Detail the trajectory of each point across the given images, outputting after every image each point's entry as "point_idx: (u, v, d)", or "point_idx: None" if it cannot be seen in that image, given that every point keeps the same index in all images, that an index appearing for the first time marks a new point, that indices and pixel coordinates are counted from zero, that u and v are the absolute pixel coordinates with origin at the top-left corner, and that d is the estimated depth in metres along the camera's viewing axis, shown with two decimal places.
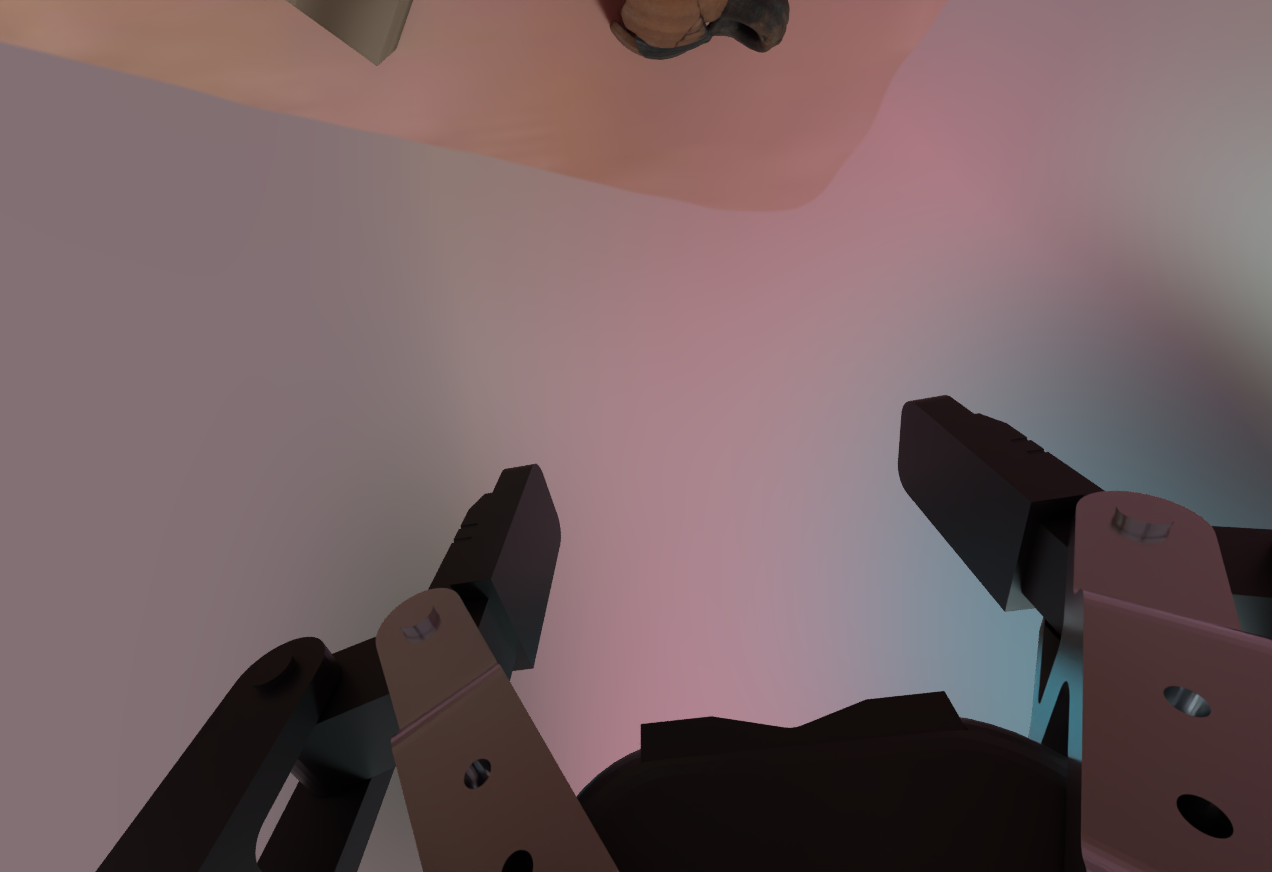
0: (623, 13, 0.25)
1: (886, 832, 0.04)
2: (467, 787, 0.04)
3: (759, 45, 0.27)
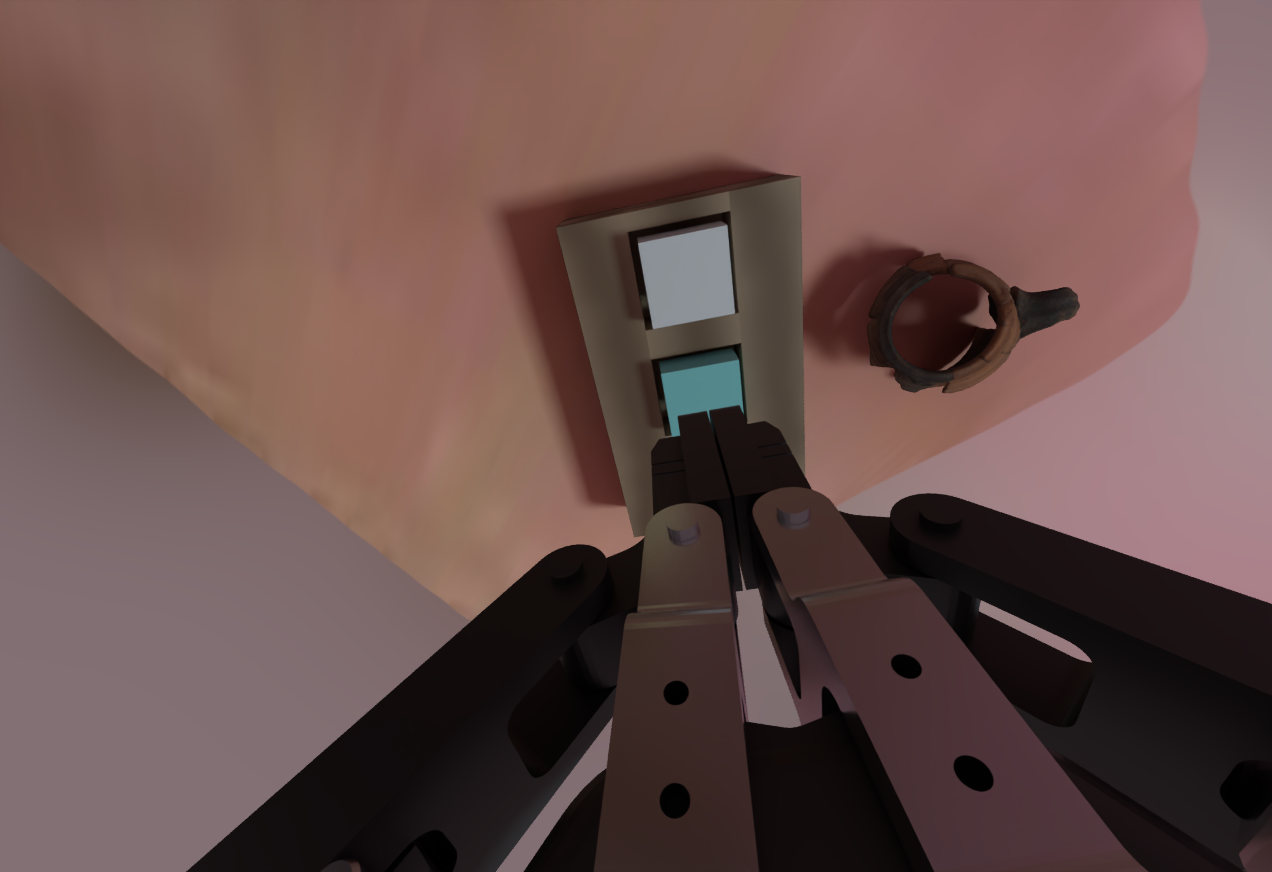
0: (946, 392, 0.32)
1: (886, 832, 0.04)
2: (664, 696, 0.05)
3: None
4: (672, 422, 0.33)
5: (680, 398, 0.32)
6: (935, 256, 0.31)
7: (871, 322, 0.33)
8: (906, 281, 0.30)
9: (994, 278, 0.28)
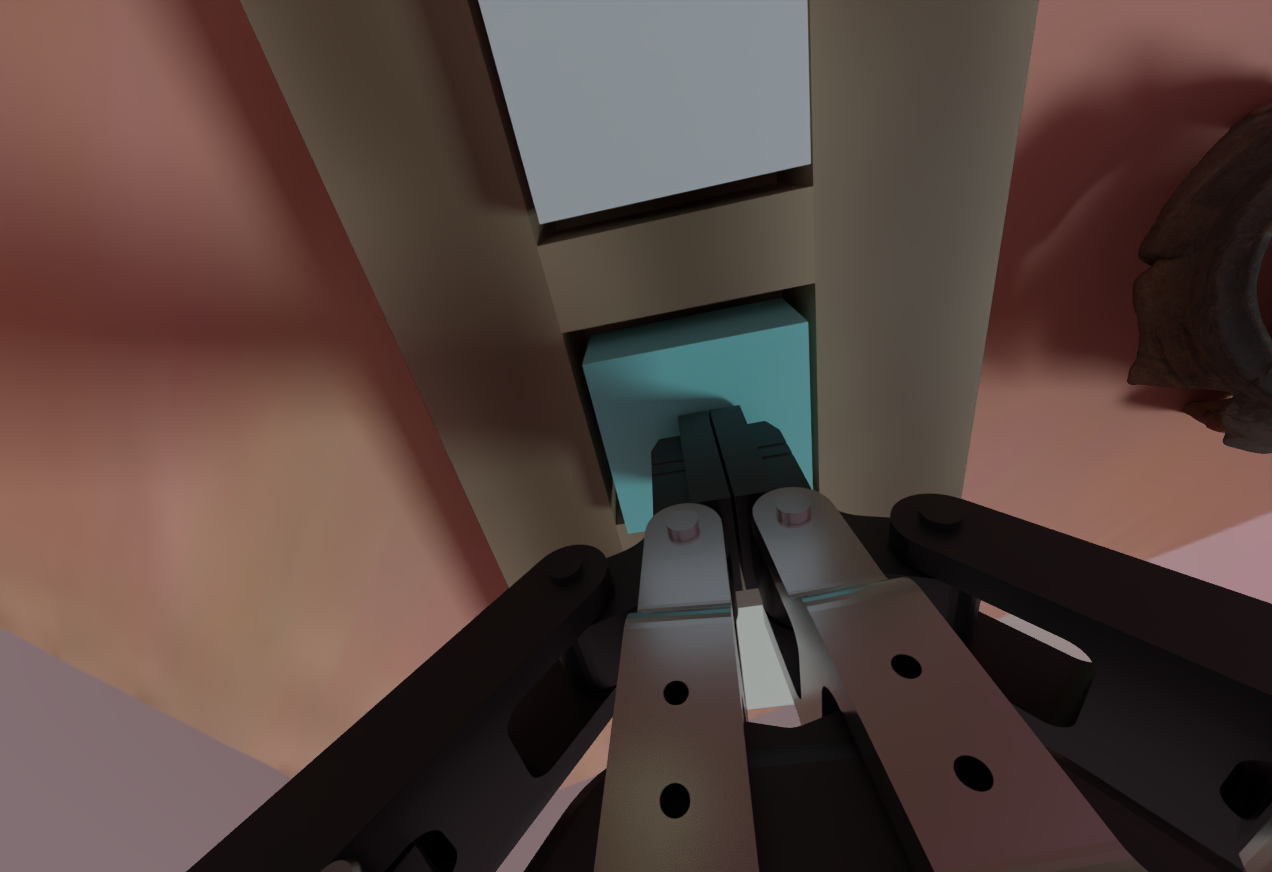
0: None
1: (886, 832, 0.04)
2: (663, 697, 0.05)
3: None
4: (626, 493, 0.13)
5: (642, 433, 0.12)
6: None
7: (1154, 271, 0.12)
8: None
9: None
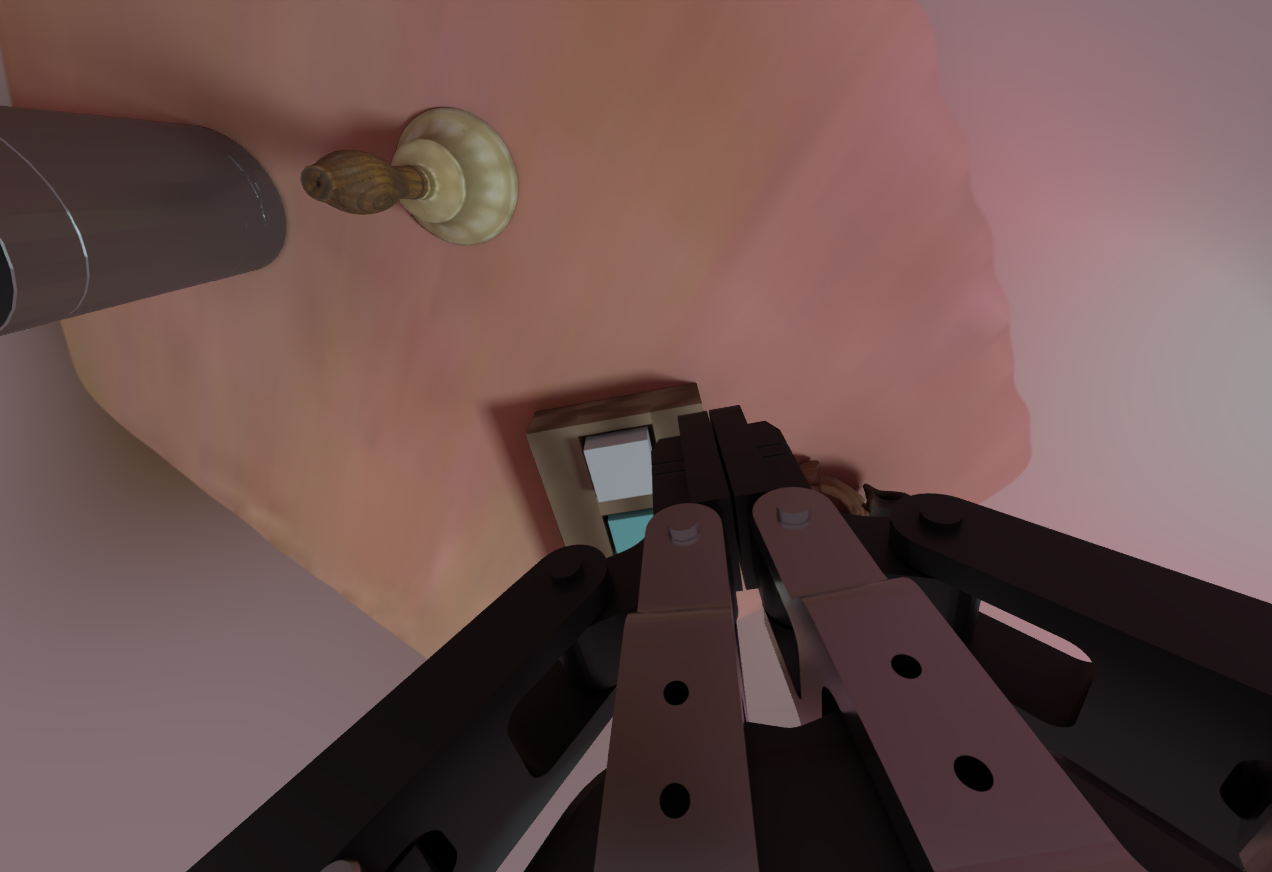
0: None
1: (886, 832, 0.04)
2: (664, 696, 0.05)
3: None
4: (619, 552, 0.43)
5: (623, 537, 0.43)
6: (813, 467, 0.42)
7: None
8: None
9: (847, 498, 0.39)
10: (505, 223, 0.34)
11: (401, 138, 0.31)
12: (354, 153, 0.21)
